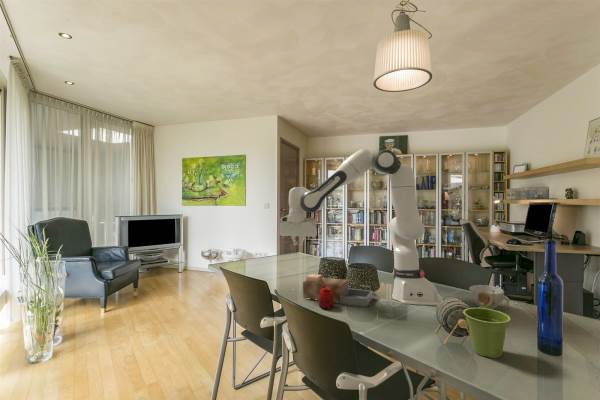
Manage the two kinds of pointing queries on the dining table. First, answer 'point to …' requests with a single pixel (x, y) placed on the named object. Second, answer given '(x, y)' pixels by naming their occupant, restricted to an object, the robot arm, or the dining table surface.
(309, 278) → the tile
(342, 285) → the brown rectangular box
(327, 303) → the red clay folk toy
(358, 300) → the box
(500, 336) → the plant pot
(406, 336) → the dining table surface
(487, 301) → the snail figurine
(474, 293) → the teacup
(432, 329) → the dining table surface
